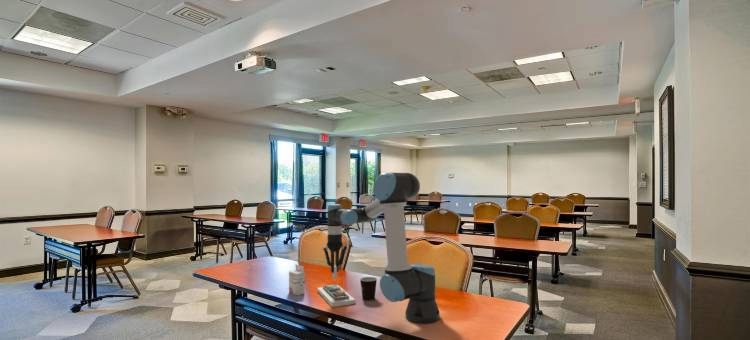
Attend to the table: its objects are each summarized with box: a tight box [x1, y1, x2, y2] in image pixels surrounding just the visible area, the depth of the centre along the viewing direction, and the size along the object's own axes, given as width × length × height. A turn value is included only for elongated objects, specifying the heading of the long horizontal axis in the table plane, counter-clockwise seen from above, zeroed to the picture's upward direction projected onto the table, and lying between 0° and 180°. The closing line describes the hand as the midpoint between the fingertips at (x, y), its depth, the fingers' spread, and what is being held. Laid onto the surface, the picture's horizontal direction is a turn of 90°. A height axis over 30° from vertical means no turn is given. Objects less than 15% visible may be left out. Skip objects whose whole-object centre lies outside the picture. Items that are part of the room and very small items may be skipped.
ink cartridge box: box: [288, 264, 306, 296], centre depth 208 cm, size 9×5×15 cm, turn 47°
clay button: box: [335, 289, 346, 296], centre depth 193 cm, size 5×5×2 cm
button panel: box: [316, 284, 356, 308], centre depth 200 cm, size 28×12×3 cm, turn 23°
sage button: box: [325, 284, 336, 289], centre depth 207 cm, size 5×5×2 cm
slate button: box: [330, 286, 341, 292], centre depth 200 cm, size 5×5×2 cm
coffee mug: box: [359, 276, 378, 301], centre depth 199 cm, size 12×9×10 cm
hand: (334, 278), depth 200 cm, fingers closed
